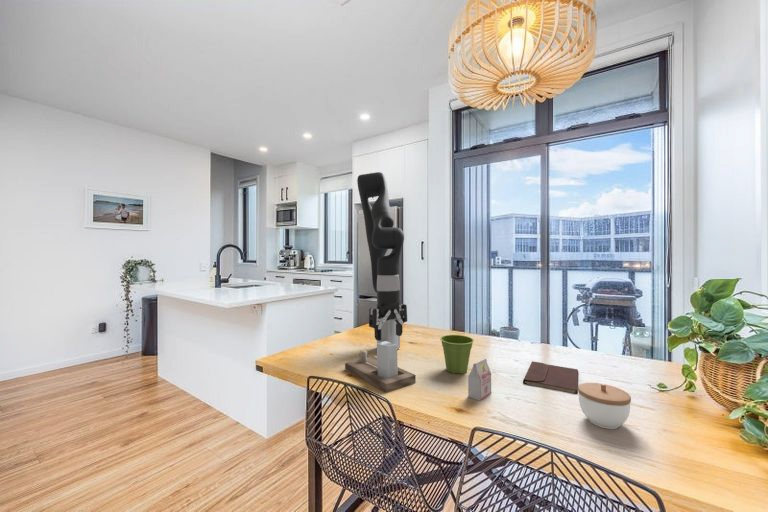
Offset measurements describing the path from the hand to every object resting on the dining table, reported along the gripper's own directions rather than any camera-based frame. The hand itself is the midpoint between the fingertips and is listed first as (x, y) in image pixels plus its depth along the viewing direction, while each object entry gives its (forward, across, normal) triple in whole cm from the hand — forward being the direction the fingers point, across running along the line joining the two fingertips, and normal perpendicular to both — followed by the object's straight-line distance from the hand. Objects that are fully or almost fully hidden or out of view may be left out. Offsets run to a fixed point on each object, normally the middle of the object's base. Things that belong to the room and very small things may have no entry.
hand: (388, 337), depth 106 cm
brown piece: (+14, +1, -5) cm, 15 cm away
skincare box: (+14, +1, 0) cm, 14 cm away
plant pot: (+14, -24, +8) cm, 29 cm away
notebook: (+15, -44, +32) cm, 56 cm away
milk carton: (+14, -14, +25) cm, 32 cm away
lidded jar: (+14, -25, +53) cm, 60 cm away
